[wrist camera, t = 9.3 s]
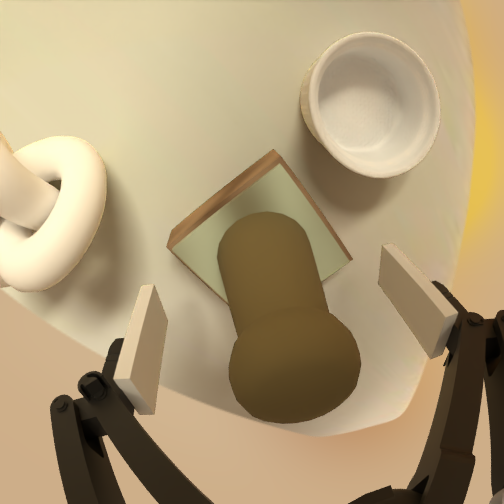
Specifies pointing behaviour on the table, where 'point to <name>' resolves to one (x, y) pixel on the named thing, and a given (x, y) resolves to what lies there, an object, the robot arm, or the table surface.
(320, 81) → the ramekin
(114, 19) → the table surface
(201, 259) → the stand
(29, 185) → the white decorative knot
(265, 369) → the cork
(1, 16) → the table surface
